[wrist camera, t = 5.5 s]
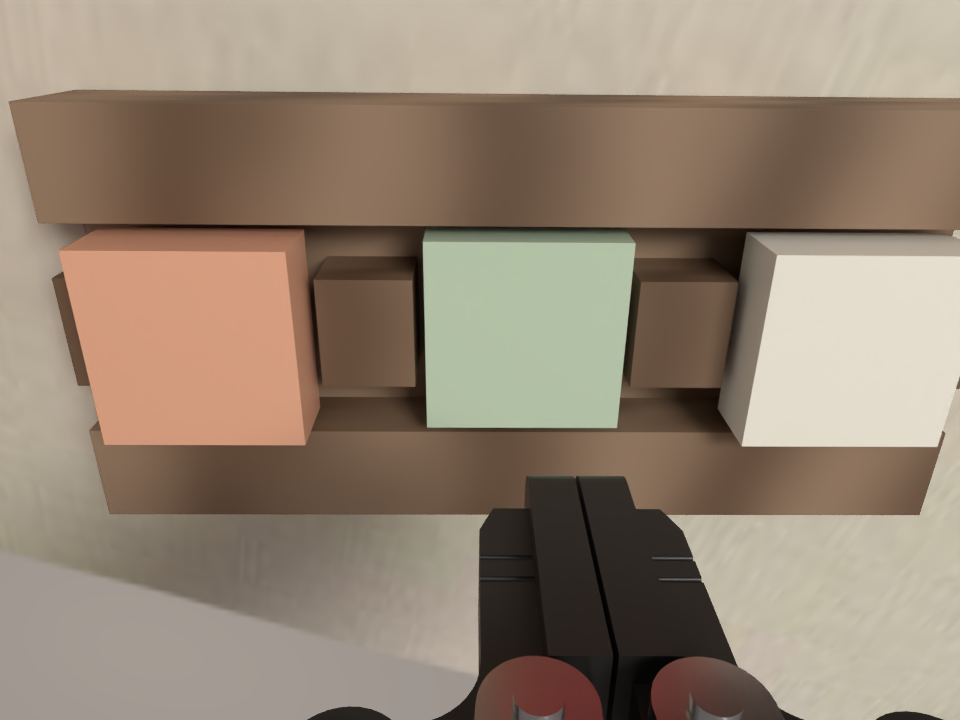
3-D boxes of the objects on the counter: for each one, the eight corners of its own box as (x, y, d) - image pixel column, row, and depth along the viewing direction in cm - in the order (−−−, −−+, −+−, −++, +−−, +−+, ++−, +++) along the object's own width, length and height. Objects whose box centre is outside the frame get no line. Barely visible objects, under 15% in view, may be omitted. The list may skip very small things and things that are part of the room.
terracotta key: (303, 228, 18) (285, 251, 16) (320, 407, 20) (305, 445, 18) (99, 227, 18) (58, 250, 16) (137, 406, 20) (104, 444, 18)
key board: (965, 98, 19) (1047, 111, 16) (867, 458, 24) (919, 514, 21) (75, 90, 19) (8, 101, 16) (151, 456, 23) (109, 513, 21)
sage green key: (619, 222, 19) (635, 243, 17) (604, 393, 21) (616, 428, 19) (427, 220, 19) (422, 242, 17) (430, 392, 21) (427, 427, 19)
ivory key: (945, 233, 18) (997, 256, 17) (895, 409, 20) (937, 446, 19) (746, 232, 18) (777, 254, 16) (717, 408, 20) (741, 446, 19)
